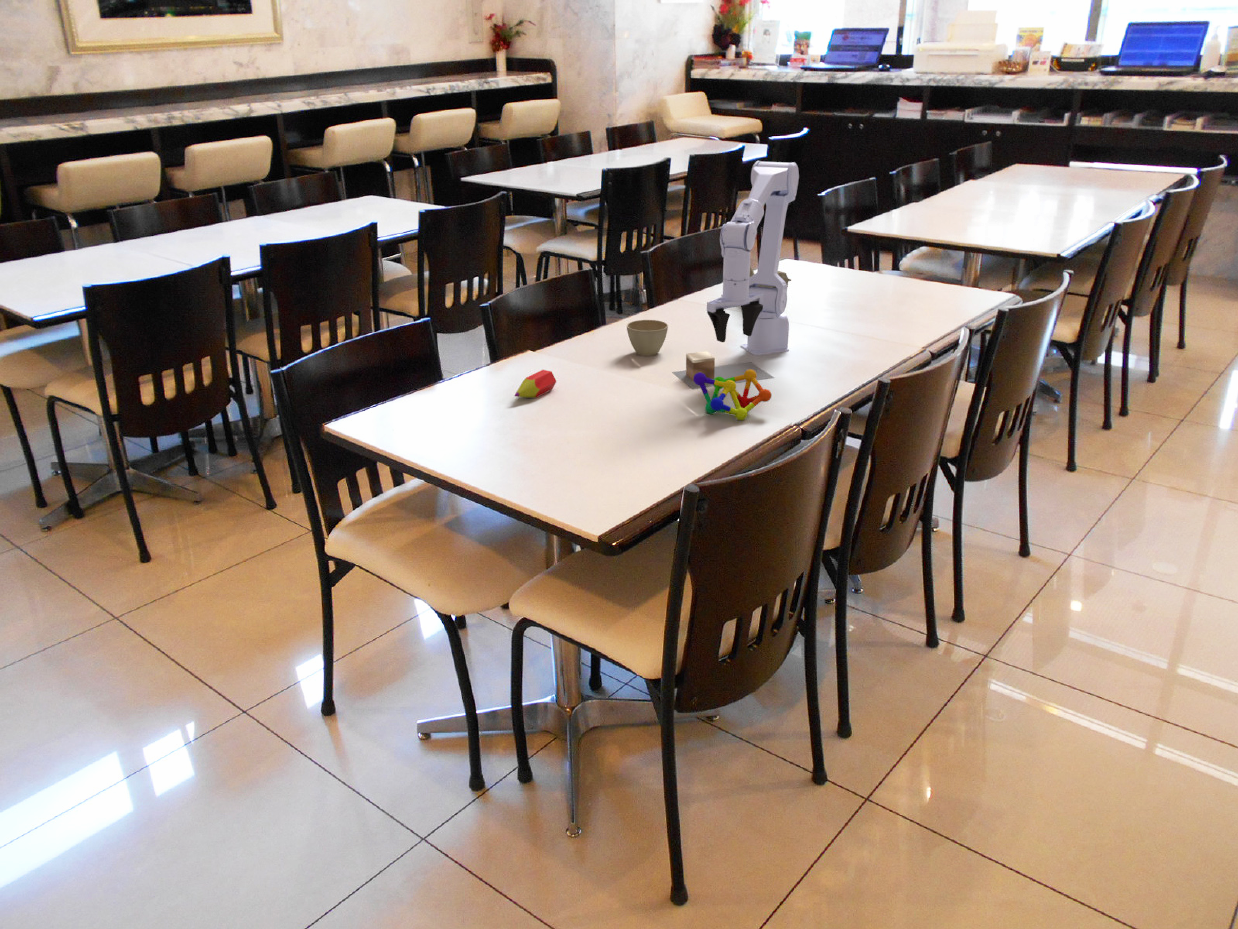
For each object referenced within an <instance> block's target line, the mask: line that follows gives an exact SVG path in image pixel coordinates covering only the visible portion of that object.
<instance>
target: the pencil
mask: <svg viewBox="0 0 1238 929" xmlns="http://www.w3.org/2000/svg"><path fill="white" fill-rule="evenodd" d="M556 384H557V380H556V378H555V376H554V374H553V372H552V371H551V370H547V369H541V370H540V371H537V372H535V373H533V374H531V375H529V376H526V377H525V378H524V380H523V381H522V382H521V384H520V385H519V388H518V389H517V391H516V392H515V394H514V397H517V398H529V399H534V398H538V397H540V396H541V395H544V394H545V393H548V392H550V391H552V390H553V389H554V387H555V385H556ZM549 390H550V391H549Z"/></svg>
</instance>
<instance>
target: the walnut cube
mask: <svg viewBox="0 0 1238 929" xmlns="http://www.w3.org/2000/svg"><path fill="white" fill-rule="evenodd" d="M715 358H716V357H714V356H713V355H712V354H711V353H710V352H708V351H707V350H706V351H698V352H697V351H696V352H689V353H686V354H685V370H686V375H687V376H688V377H689V378H690V379H691V380H692V381H693V382H694V376H695V374H697V373H699V372H700V373H703V374H705V376H706V378H710V379H714V374H715V365H716V363H715V362H716V361H715Z"/></svg>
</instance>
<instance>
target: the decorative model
mask: <svg viewBox="0 0 1238 929" xmlns="http://www.w3.org/2000/svg"><path fill="white" fill-rule="evenodd" d="M756 377H757V375H756V372H755V371H754V370H751V369H749V370H747V371H746V372H745V373H744V375H740V376H736V377H732V378H728V379H724V378H722V377H716V378H715V379H710V378H706V376H705V374H703V373H700V372H699V373H697V374H695V376H694V382H695V384H697V385H700V387H701V388H700V389H701V391H702V394H703V396H704V399H705V401H706V404H705V406H704V409H705V411H706V412H707V413H708V414H710V415H713V414H716V413H717V412H718V413H722V414H723V413H724V414H727V415H730V416H731V415H732V416H734V418H735V419H736V420H737V421H744V420H746V419H747V417H748V412H750V411H751V410H752V409H754V408H755V407H756V406H757V405H759V404H760V403H761V402H763V403H765V402H769V401H770V400H771V399H772V393H771V391H770V390H769V389H767V388H763V387H762V386H761V384H760V382H758V381H759V380H756ZM740 380H746V382H745V386H744V388H743V393H742V395H741V394H740V393H739V391H738V390H737V383H735V382H736V381H740ZM705 383H708V384H712V385H713V386H712V387H714V390H713V393H712V397H711V396H710V394H709V391H708V389H707V388H708V387H706V386H705ZM751 383H752V384H753V386H754V387H755V388H756V389H757V391H758V395H754V396H751V397H749V398H748V396H749V392H750V388H751ZM722 389H723V390H722ZM720 390H722V391H721V392H720ZM728 394H729V395H730V397H731V400H732V402H733V404H734V407H735V408H734V407H732V406H730V405H727V404H724V403H725V402H724V399H725V398H726V396H727V395H728Z"/></svg>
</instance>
